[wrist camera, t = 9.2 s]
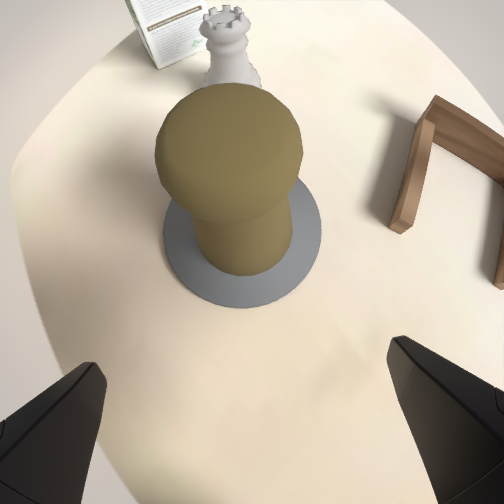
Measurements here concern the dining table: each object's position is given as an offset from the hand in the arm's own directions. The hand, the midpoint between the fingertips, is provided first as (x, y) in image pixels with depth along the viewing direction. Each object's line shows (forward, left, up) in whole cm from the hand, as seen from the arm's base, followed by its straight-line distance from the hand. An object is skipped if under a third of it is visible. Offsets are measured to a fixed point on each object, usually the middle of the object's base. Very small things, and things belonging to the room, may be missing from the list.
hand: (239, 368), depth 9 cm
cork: (+7, +2, -10) cm, 12 cm away
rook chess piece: (+18, +5, -11) cm, 22 cm away
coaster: (+7, +2, -10) cm, 13 cm away
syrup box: (+24, +12, -11) cm, 29 cm away
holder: (+12, -14, -10) cm, 21 cm away
